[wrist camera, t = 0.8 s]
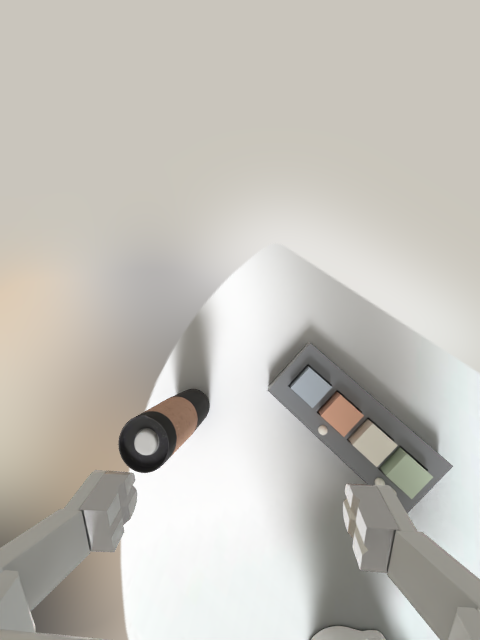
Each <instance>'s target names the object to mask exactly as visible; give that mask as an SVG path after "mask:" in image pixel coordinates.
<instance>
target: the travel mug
mask: <svg viewBox="0 0 480 640" xmlns="http://www.w3.org/2000/svg"><path fill="white" fill-rule="evenodd" d="M208 412H209V401H208V398H207V397H206V395H205V394H204V393H203V392H201V391H200V390H197V389H189V390H186V391H184V392H182V393H179V394H177V395H175V396H173V397H171V398H169V399H167V400H165V401H163V402H161V403H160V404H158V405H156V406H154V407H152V408H151V409H149V410H147V411H145V412H143V413H142V414H140V415H138V416H136V417H134V418H133V419H131V420H129V421H128V422H127V423H126V425H125V426H124V427H123V429H122V431H121V433H120V436H119V451H120V454H121V457H122V459H123V461H124V462H125V463H126V464H127V466H128V467H130V468H131V469H133V470H134V471H137V472H141V473H148V472H152V471H155V470H157V469H158V468H160V467H161V466H162V465H163V464H164V463H165V462H166V461H167V460H168V459H169V458H170V457H171V456H172V455H173V454H174V452H175V451H176V450H177V449H178V448H179V447H180V446H181V445H182V444H183V443H184V442H185V441H186V440H187V439H188V438H189V437H190V436H191V435H192V434H193V432H194V431H195V430H196V429H197V427H198V426H199V425H200V424H201V423H202V421H203V420H204V419H205V418H206V416H207V414H208Z"/></svg>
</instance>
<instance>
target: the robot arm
mask: <svg viewBox="0 0 480 640" xmlns="http://www.w3.org/2000/svg"><path fill="white" fill-rule="evenodd" d="M134 482H135V476H134V473H130V472H117V471H102V470H95V471H94V472H92V473H91V474H90V476H89V477H88V478H87V479H86V481H85V482H84V483H83V485H82V486H81V487H80V488H79V490H78V491H77V492H76V494H75V495H74V496H73V497H72V499H71V500H70V501H69V503H68V504H67V505H66V507H65V508H64V509H60V510H58V511H56V512H55V513H53V514H51V515H50V516H48V517H47V518H45V519H44V520H42V521H41V522H39V523H38V524H36V525H35V526H33V527H32V528H30V529H29V530H27V531H26V532H24V533H23V534H21V535H19V536H18V537H17V538H15V539H14V540H12V541H10V542H9V543H7V544H6V545H4V546H3V547H1V548H0V640H107V639H97V638H86V637H76V636H66V635H65V636H64V635H55V634H45V633H35V625H34V621H33V618H32V615H31V611H32V610H33V609H34V608H35V607H36V606H37V605H38V604H39V603H40V602H41V601H42V600H43V599H44V598H45V597H46V596H47V595H48V594H49V593H50V592H51V591H52V590H53V589H54V588H55V587H56V586H57V585H58V584H59V583H60V582H61V581H62V580H63V579H64V578H65V577H66V576H67V575H68V574H69V573H70V572H71V571H72V570H73V569H74V568H75V567H76V566H77V565H78V564H79V563H81V562H82V561H83V560H84V558H86V557H87V556H88V555H89V554H90V551H96V552H115V550H116V547H117V545H118V543H119V541H120V539H121V537H122V535H123V533H124V527H123V525H124V524H125V523H126V522H127V521H128V520H130V519H131V516H132V514H133V512H134V509H135V506H136V502H137V490H136V489H135V487H134V486H133V484H134ZM345 494H346V497H347V498H346V499H345V500H344V501H343V517H344V522H345V526H346V529H347V532H348V534H349V535H350V536H351V537H352V538H353V546H352V548H353V551H354V554H355V557H356V560H357V563H358V566H359V569H360V570H362V571H371V572H381V573H388V574H387V575H388V576H389V578H390V579H391V580H392V581H393V583H394V584H395V585H396V586H397V587H398V589H399V590H400V591H401V592H402V594H403V595H404V596H405V597H406V598H407V600H408V601H409V602H410V603H411V605H412V606H413V607H414V608H415V610H416V611H417V612H418V613H419V614H420V616H421V617H422V618H423V619H424V621H425V622H426V623H427V624H428V625H429V627H430V628H431V629H432V630H433V632H434V633H435V634H436V635H437V636H438V638H439V639H440V640H480V579H479V578H477V577H476V576H475V575H474V574H473V573H471V572H470V571H469V570H468V569H467V568H465V567H464V566H463V565H462V564H460V563H459V562H458V561H457V560H456V559H454V558H453V557H452V556H451V555H450V554H448V553H447V552H446V551H445V550H443V549H442V548H441V547H440V546H439V545H437V544H436V543H435V542H434V541H433V540H431V539H430V538H429V537H428V536H427V535H425V534H424V533H423V532H418V531H417V530H416V528H415V526H414V524H413V523H412V521H411V519H410V518H409V516H408V514H407V513H406V511H405V509H404V508H403V506H402V504H401V502H400V501H399V499H398V497H397V496H396V494H395V492H394V491H393V489H392V488H391V487H390V486H389V485H371V484H346V486H345ZM311 640H386V639H385V637H384V636H383V635H382V633H381V632H379V631H377V630H366V631H359V630H355V629H352V628H349V627H344V626H333V627H328V628H325V629H323V630H321V631H319V632H318V633H317V634H316V635H314V636H313V638H312V639H311Z"/></svg>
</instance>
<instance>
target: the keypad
mask: <svg viewBox="0 0 480 640" xmlns="http://www.w3.org/2000/svg"><path fill="white" fill-rule="evenodd" d="M307 365H308V366H309V367H310V368H311V369H312V370H313V371H314V372H316V373H317V374H318V375H319V376H320V377H321V378H322V379H323V380H325V381H326V382H327V383H328V384H329V385H330V386H331V387H332V388H331V389H330V390H329V391H328V392H327V393H326V394H325V396H324V397H323V398H322V399H321V400H320V401H319V402H318V403H317V404H316V405H315V406H314V407H313V408H312V407H311V406H309V405H308V404H307V403H306V402H305V401H304V400H303V399H302V398H301V397H300V396H299V395H297V394H296V393H295V392H294V391H293V390H292V389H291V388H290V383H291V382H292V381H293V380H294V379H295V378H296V377H297V376H298V375H299V374H300V372H301V371H302V370H303V369H304V368H305V367H306V366H307ZM268 391H269V392H270V393H271V394H272V395H273V396H274V397H275V398H276V399H277V400H278V401H279V402H281V403H282V404H283V405H284V406H285V407H286V408H287V409H288V410H289V411H290V412H291V413H292V414H293V415H294V416H295V417H297V418H298V419H299V420H300V421H301V422H302V423H303V424H304V425H305V426H306V427H307V428H308V429H309V430H310V431H311V432H312V433H314V434H315V435H316V436H317V437H318V438H319V439H320V440H321V441H322V442H323V443H324V444H325V445H326V446H327V447H328V448H330V449H331V450H332V451H333V452H334V453H335V454H336V455H337V456H338V457H339V458H340V459H341V460H342V461H343V462H344V463H346V464H347V465H348V466H349V467H350V468H351V469H352V470H353V471H354V472H355V473H356V474H357V475H358V476H359V477H360V478H362V479H363V480H364V481H365V482H366V483H367V484H371V485H389V486H390V487H391V488H392V489H393V491H394V492H395V494H396V496H397V497H398V499H399V501H400V502H401V504H402V506H403V508H404V509H405V511H406V513H408V512H409V511H410V510H411V509H412V508H413V507H414V506H415V505H416V504H417V503H418V502H419V501H420V500H421V499H422V498H423V497H424V496H425V495H426V494H427V493H428V491H429V490H430V489H431V488H432V487H433V486H434V485H435V484H436V483H437V482H438V481H439V480H440V479H441V478H442V477H443V476H444V475H445V474H446V473H447V472H448V471H449V470H450V469H451V468H452V467H453V466H452V465H451V464H450V463H449V462H448V461H447V460H445V459H444V458H443V457H442V456H441V455H440V454H438V453H437V452H436V451H435V450H434V449H433V448H431V447H430V446H429V445H428V444H427V443H426V442H425V441H423V440H422V439H421V438H420V437H419V436H418V435H416V434H415V433H414V432H413V431H412V430H411V429H409V428H408V427H407V426H406V425H405V424H404V423H403V422H401V421H400V420H399V419H398V418H397V417H396V416H394V415H393V414H392V413H391V412H390V411H389V410H387V409H386V408H385V407H384V406H383V405H382V404H381V403H379V402H378V401H377V400H376V399H375V398H374V397H372V396H371V395H370V394H369V393H368V392H367V391H365V390H364V389H363V388H362V387H361V386H360V385H359V384H357V383H356V382H355V381H354V380H353V379H352V378H350V377H349V376H348V375H347V374H346V373H345V372H343V371H342V370H341V369H340V368H339V367H338V366H337V365H335V364H334V363H333V362H332V361H331V360H330V359H328V358H327V357H326V356H325V355H324V354H323V353H321V352H320V351H319V350H318V349H317V348H316V347H315V346H313V345H312V344H311V343H307V344H306V345H305V347H304V348H303V349H302V350H301V351H300V352H299V353H298V354H297V355H296V357H295V358H294V359H293V360H292V361H291V362H290V363H289V364H288V365H287V366H286V368H285V369H284V370H283V371H282V372H281V373H280V374H279V375H278V376H277V377H276V379H275V380H274V381H273V382H272V383H271V384H270V385H269V386H268ZM336 391H337V392H338V393H339V394H340V395H342V396H343V397H344V398H345V399H346V400H347V401H348V402H349V403H351V404H352V405H353V406H354V407H355V408H356V409H357V410H358V411H360V412H361V413H362V414H363V415H364V416H363V417H362V418H361V419H360V421H359V422H358V423H357V424H356V425H355V426H354V427H353V428H352V429H351V430H350V431H349V432H348V433H347V434H346V435H345V437H343V436H342V435H341V434H340V433H339V432H338V431H337V430H336V429H335V428H333V427H332V426H331V425H330V424H329V423H328V422H327V421H326V420H325V419H324V418H323V417H321V415H320V414H319V412H318V410H319V409H320V408H321V407H322V406H323V405H324V404H325V402H326V401H327V400H328V399H329V398H330V397H331V396H332V395H333V394H334V393H335V392H336ZM366 418H367V419H369V420H370V421H371V422H372V423H373V424H374V425H375V426H377V427H378V428H379V429H380V430H381V431H382V432H383V433H384V434H386V435H387V436H388V437H389V438H390V439H391V440H392V441H393V442H394V443H396V444H397V445H398V446H397V447H396V448H395V449H394V450H393V451H392V452H391V453H390V454H389V455H388V456H387V457H386V458H385V459H384V461H383V462H382V463H381V464H380V465H379V466H378V467H376V466H375V465H374V464H373V463H372V462H370V461H369V460H368V459H367V458H366V457H365V456H364V455H363V454H362V453H361V452H360V451H359V450H357V449H356V448H355V447H354V446H353V445H352V444H351V442H350V441H349V439H348V438H349V437H350V435H351V434H352V433H353V432H354V431H355V430H356V429H357V428H358V427H359V426H360V425H361V424H362V423H363V422H364V421H365V420H366ZM398 447H400V448H401V449H403V450H404V451H405V452H406V453H407V454H408V455H409V456H410V457H412V458H413V459H414V460H415V461H416V462H417V463H418V464H419V465H421V466H422V467H423V468H424V469H425V470H426V471H427V472H428V473H430V474H431V475H432V476H433V478H432V479H431V480H430V481H429V482H428V483H427V484H426V485H425V486H424V487H423V488H422V489H421V490H420V491H419V492H418V493H417V494H416V496H415V497H414V498H413V499H411V498H410V497H409V496H408V495H406V494H405V493H404V492H403V491H402V490H401V489H400V488H399V487H398V486H397V485H396V484H394V483H393V482H392V481H391V480H390V479H389V478H388V477H387V476H386V475H385V474H384V473H383V471H382V470H381V469H380V466H381V465H382V464H383V463H384V462H385V461H386V460H387V459H388V458H389V457H390V456H391V455H392V454H393V453H394V452H395V451H396V449H397V448H398Z"/></svg>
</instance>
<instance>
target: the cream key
mask: <svg viewBox="0 0 480 640" xmlns="http://www.w3.org/2000/svg"><path fill="white" fill-rule="evenodd" d="M348 439H349V441H350V442H351V444H352V445H353V446H354V447H355V448H356V449H357V450H359V451H360V452H361V453H362V454H363V455H364V456H365V457H366V458H367V459H368V460H369V461H370V462H372V463H373V464H374V465H375V466H376V467H378V466H379V465H380V464H381V463H382V462H383V461H384V459H385V458H386V457H387V456H388V455H389V454H390V453H391V452H392V451H393V450H394V449H395V448H396V447H397V446H398V445H397V444H396V443H394V442H393V441H392V440H391V439H390V438H389V437H388V436H387V435H386V434H384V433H383V432H382V431H381V430H380V429H379V428H378V427H377V426H375V425H374V424H373V423H372V422H371V421H370V420H369V419H367V418H366V420H365V421H364V422H363V423H362V424H361V425H360V426H359V427H358V428H357V429H356V430H355V431H354V432H353V433H352V434H351V435H350V437H349V438H348Z"/></svg>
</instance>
